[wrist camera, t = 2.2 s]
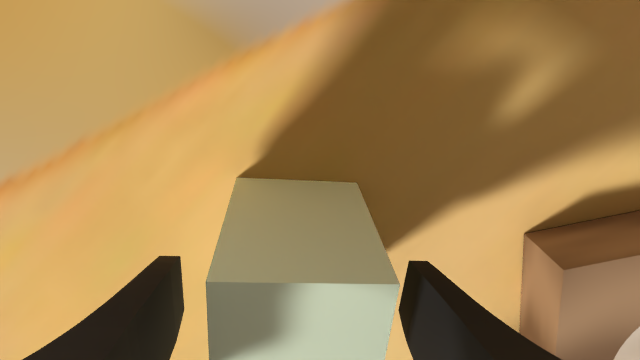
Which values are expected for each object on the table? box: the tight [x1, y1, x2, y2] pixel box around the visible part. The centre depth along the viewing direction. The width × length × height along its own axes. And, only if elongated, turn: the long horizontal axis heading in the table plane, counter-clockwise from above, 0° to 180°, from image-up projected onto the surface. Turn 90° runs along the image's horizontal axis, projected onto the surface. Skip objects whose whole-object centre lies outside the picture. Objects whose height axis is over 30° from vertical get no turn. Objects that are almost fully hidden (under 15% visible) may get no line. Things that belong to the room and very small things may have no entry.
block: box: [206, 177, 400, 360], centre depth 12 cm, size 4×4×6 cm
